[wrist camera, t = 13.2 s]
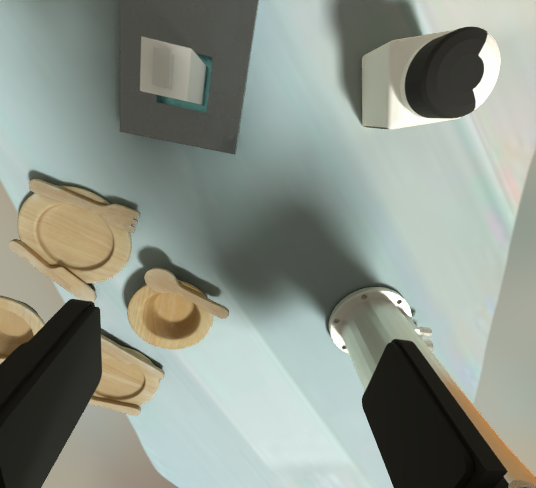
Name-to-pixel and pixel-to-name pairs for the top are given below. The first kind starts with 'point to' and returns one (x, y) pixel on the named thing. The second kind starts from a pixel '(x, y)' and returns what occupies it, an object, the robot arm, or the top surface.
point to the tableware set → (96, 270)
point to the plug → (172, 71)
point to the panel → (207, 49)
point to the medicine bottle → (428, 78)
